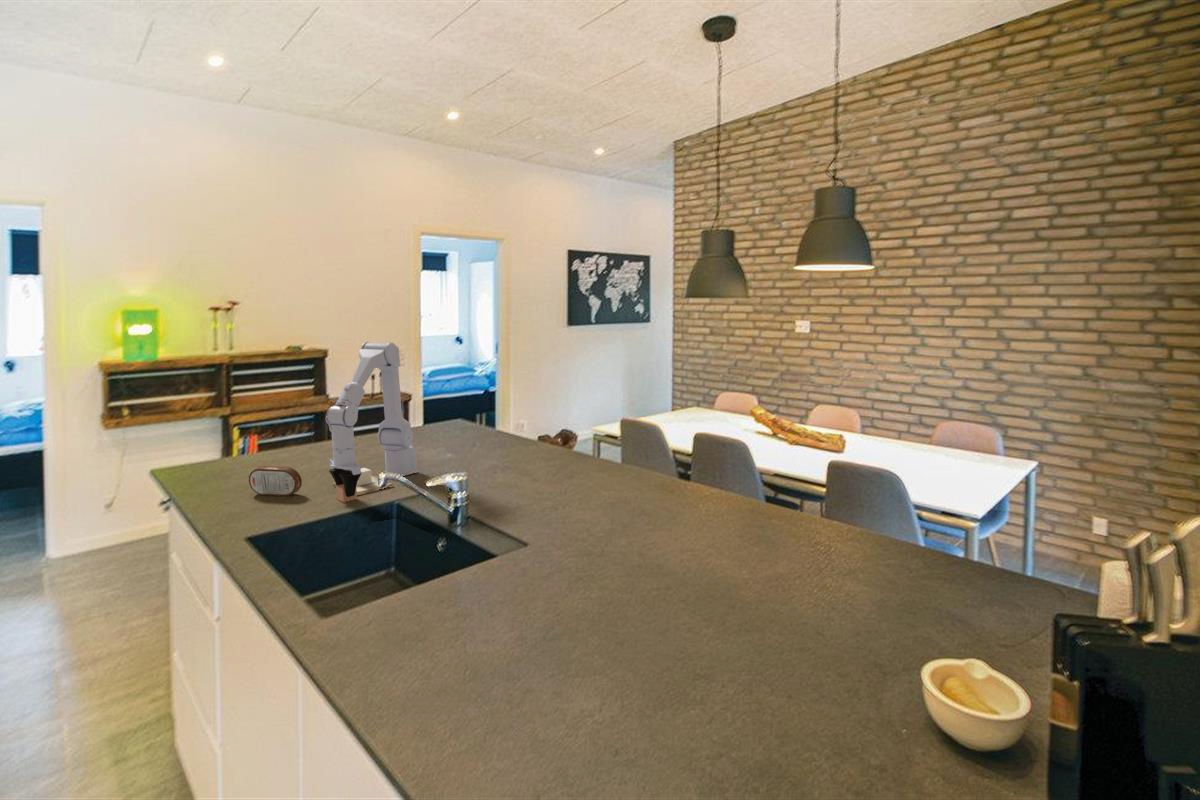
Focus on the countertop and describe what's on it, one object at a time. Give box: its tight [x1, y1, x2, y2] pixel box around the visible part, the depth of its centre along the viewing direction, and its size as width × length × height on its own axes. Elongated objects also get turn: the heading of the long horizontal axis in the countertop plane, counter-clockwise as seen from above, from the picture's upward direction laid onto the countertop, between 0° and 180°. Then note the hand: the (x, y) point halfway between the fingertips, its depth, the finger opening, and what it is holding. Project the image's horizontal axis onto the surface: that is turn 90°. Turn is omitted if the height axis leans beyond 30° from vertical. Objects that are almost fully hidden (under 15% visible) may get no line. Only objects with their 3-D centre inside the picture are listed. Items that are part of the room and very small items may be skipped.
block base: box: [357, 467, 373, 486], centre depth 188 cm, size 4×4×4 cm
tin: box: [248, 465, 303, 497], centre depth 179 cm, size 15×3×8 cm, turn 84°
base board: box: [332, 475, 394, 496], centre depth 188 cm, size 12×14×1 cm
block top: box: [335, 484, 358, 503], centre depth 176 cm, size 4×4×4 cm
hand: (346, 494), depth 176 cm, fingers closed on block top, 4 cm apart
